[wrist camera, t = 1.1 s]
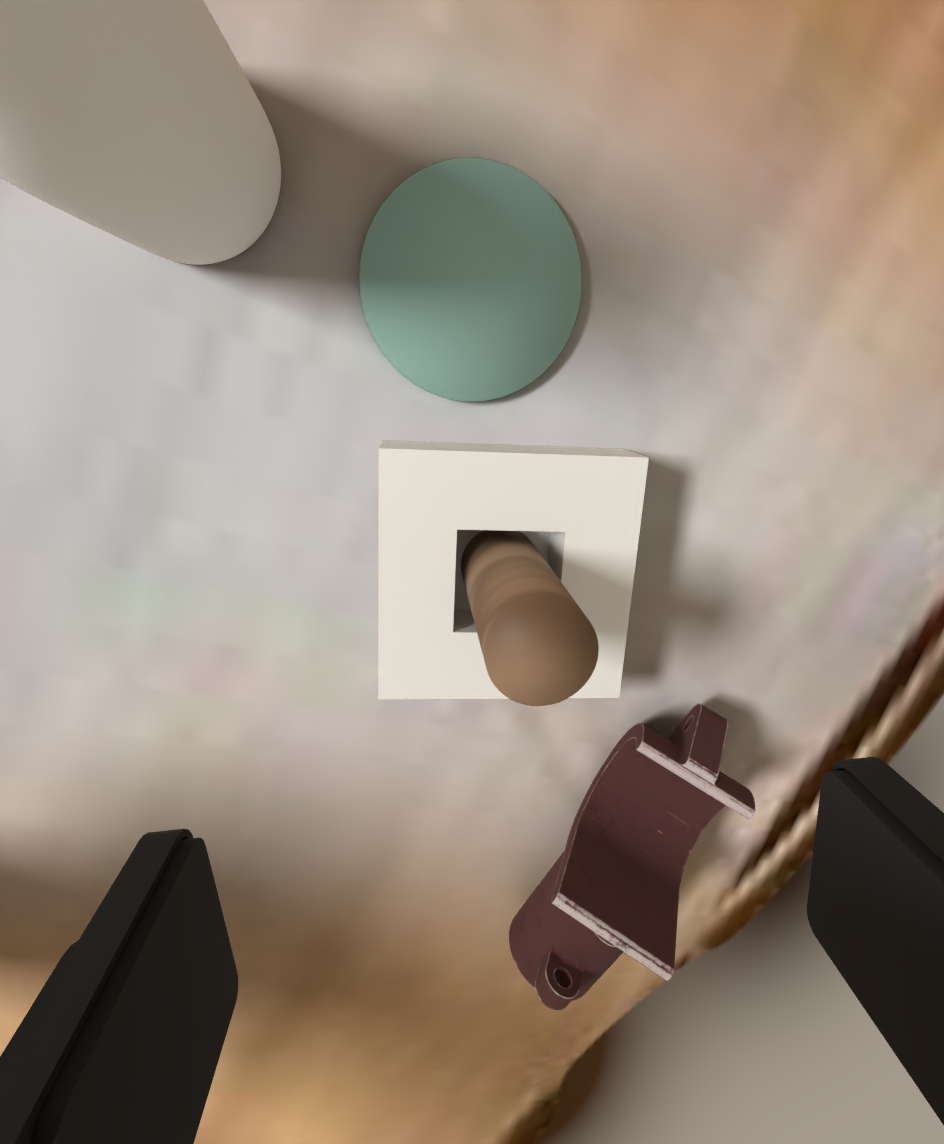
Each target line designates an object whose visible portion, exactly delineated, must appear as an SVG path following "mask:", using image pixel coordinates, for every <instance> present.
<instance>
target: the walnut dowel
mask: <svg viewBox="0 0 944 1144" xmlns="http://www.w3.org/2000/svg"><path fill="white" fill-rule="evenodd" d="M461 572H462V577H463V581H464V584H465V588H466V592H467V596H468V600H469V604H470V607H471V611H472V615H473V619H474V623H475V627H476V631H477V634H478V638H479V642H480V646H481V650H482V654H483V657H484V661H485V665H486V669H487V672H488V675H489V677H490V679H491V681H492V683H493V684H494V685H495V687H496V688H497V689H498V690H499V691H500V692H501V693H502V694H503V695H505V696H506V697H508V698H509V699H511V700H513V701H515V702H518V703H521V704H525V705H530V706H545V705H551V704H555V703H558V702H561V701H563V700H565V699H567V698H569V697H571V696H572V695H574V694H575V693H576V692H578V691H579V690H580V689H581V688H582V687H583V686H584V685H585V684H586V682H587V681H588V680H589V678H590V677H591V675H592V673H593V671H594V669H595V667H596V663H597V660H598V652H599V646H598V639H597V635H596V632H595V630H594V627H593V626H592V624H591V622H590V621H589V620H588V618H587V617H586V615H585V614H584V613H583V611H582V610H581V609H580V607H579V606H578V604H577V603H576V602H575V600H574V599H573V598H572V596H571V595H570V594H569V592H568V591H567V589H566V588H565V587H564V585H563V584H562V583H561V581H560V580H559V578H558V577H557V576H556V574H555V573H554V572H553V570H552V569H551V567H550V566H549V565H548V563H547V562H546V561H545V559H544V558H543V557H542V555H541V554H540V552H539V551H538V550H537V548H536V547H535V546H534V544H533V543H532V542H531V540H530V539H529V538H528V537H527V536H526V535H525V534H523V533H522V532H520V531H501V530H484V531H482V532H480V533H479V534H477V535H476V536H475V537H473V538H472V539H471V540H470V542H469V543H468V544H467V546H466V548H465V550H464V552H463V555H462V559H461Z"/></svg>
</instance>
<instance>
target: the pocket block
mask: <svg viewBox="0 0 944 1144" xmlns="http://www.w3.org/2000/svg"><path fill="white" fill-rule="evenodd" d="M648 460H649V457H646V456H643V455H640V454H637V453H634V452H631V451H628V450H626V449H611V448H583V447H555V446H527V445H498V444H470V443H442V442H414V441H386V440H382V442H381V444H380V447H379V635H378V699H499V698H508V697H506V696H505V695H503V694H502V693H501V692H500V691H499V690H498V689H497V688H496V687H495V685H494V684H493V683H492V681H491V679H490V677H489V675H488V672H487V669H486V665H485V661H484V657H483V654H482V650H481V646H480V642H479V638H478V634H477V631H476V627H475V623H474V619H473V615H472V611H471V607H470V604H469V600H468V596H467V592H466V588H465V584H464V581H463V577H462V572H461V559H462V555H463V552H464V550H465V548H466V546H467V544H468V543H469V542H470V540H471V539H472V538H473V537H475V536H476V535H477V534H479V533H480V532H482V531H484V530H501V531H520V532H522V533H523V534H525V535H526V536H527V537H528V538H529V539H530V540H531V542H532V543H533V544H534V546H535V547H536V548H537V550H538V551H539V552H540V554H541V555H542V557H543V558H544V559H545V561H546V562H547V563H548V565H549V566H550V567H551V569H552V570H553V572H554V573H555V574H556V576H557V577H558V578H559V580H560V581H561V583H562V584H563V585H564V587H565V588H566V589H567V591H568V592H569V594H570V595H571V596H572V598H573V599H574V600H575V602H576V603H577V604H578V606H579V607H580V609H581V610H582V611H583V613H584V614H585V615H586V617H587V618H588V620H589V621H590V622H591V624H592V626H593V627H594V630H595V632H596V635H597V639H598V646H599V652H598V660H597V663H596V667H595V669H594V671H593V673H592V675H591V677H590V678H589V680H588V681H587V682H586V684H585V685H584V686H583V687H582V688H581V689H580V690H579V691H578V692H576V693H575V694H574V695H572V696H571V697H569V698H619V695H620V687H621V679H622V670H623V662H624V654H625V646H626V638H627V630H628V622H629V614H630V606H631V598H632V590H633V582H634V573H635V565H636V557H637V549H638V541H639V533H640V525H641V517H642V509H643V501H644V493H645V485H646V476H647V468H648Z"/></svg>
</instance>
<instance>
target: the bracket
mask: <svg viewBox="0 0 944 1144" xmlns="http://www.w3.org/2000/svg"><path fill="white" fill-rule="evenodd" d="M727 729H728V721H727V720H726V719H725V718H723V717H721V716H720V715H718V714H716V713H715V712H713V711H711V710H709V709H708V708H706V707H704V706H703V705H701V704H697V705H695V706H694V707H693V708H692V709H691V710H690V712H689V713H688V714H687V715H686V717H685V718H684V719H683V721H682V722H681V723H680V725H679V726H678V727H677V728H676V730H675V731H674V732H673V734H672V735H671V736H670V737H669V739H666V738H664V737H663V736H661V735H659V734H658V733H656V732H655V731H653V730H651V729H650V728H648V727H646V726H645V725H643V724H641V723H638V724H636V725H634V726H633V727H632V728H631V729H630V730H629V731H628V732H627V733H626V734H625V735H624V736H623V737H622V738H621V740H620V741H619V742H618V743H617V745H616V746H615V747H614V749H613V751H612V752H611V754H610V755H609V757H608V758H607V760H606V761H605V763H604V764H603V766H602V767H601V769H600V770H599V772H598V773H597V775H596V777H595V779H594V780H593V782H592V784H591V786H590V788H589V790H588V792H587V794H586V795H585V797H584V799H583V802H582V804H581V806H580V808H579V810H578V812H577V815H576V817H575V820H574V822H573V825H572V827H571V830H570V833H569V837H568V840H567V844H566V848H565V851H564V852H563V853H562V855H561V856H560V857H559V859H558V860H557V861H556V863H555V864H554V865H553V867H552V868H551V869H550V871H549V872H548V873H547V875H546V876H545V877H544V879H543V880H542V881H541V883H540V884H539V885H538V886H537V888H536V889H535V890H534V892H533V893H532V894H531V896H530V897H529V898H528V900H527V901H526V902H525V904H524V905H523V906H522V908H521V909H520V910H519V912H518V913H517V914H516V916H515V917H514V919H513V920H512V923H511V926H510V931H509V943H510V948H511V952H512V956H513V958H514V961H515V963H516V965H517V967H518V969H519V970H520V972H521V973H522V975H523V976H524V978H525V979H526V980H527V981H528V982H529V983H530V984H531V985H532V986H533V987H534V988H535V989H536V991H537V994H538V996H539V998H540V1000H541V1001H542V1002H543V1003H544V1004H545V1005H546V1006H547V1007H548V1008H550V1009H552V1010H555V1011H560V1010H563V1009H564V1008H565V1007H566V1006H567V1005H568V1004H569V1003H570V1002H571V1001H573V1000H576V999H578V998H580V997H582V996H583V995H584V994H585V993H586V992H587V991H588V990H589V989H590V987H591V986H592V985H593V984H594V983H595V982H596V981H597V980H598V979H599V978H600V977H601V976H602V974H603V973H604V972H605V971H606V970H607V969H608V968H609V967H610V966H611V965H612V964H613V963H614V961H615V960H616V959H617V958H618V957H619V956H620V955H621V954H622V953H623V952H625V953H626V954H628V955H629V956H631V957H632V958H634V959H635V960H637V961H638V962H640V963H641V964H643V965H644V966H645V967H647V968H648V969H650V970H651V971H653V972H654V973H656V974H657V975H659V976H660V977H662V978H663V979H665V980H666V981H668V980H670V978H671V977H672V975H673V972H674V963H675V947H676V931H677V915H678V899H679V887H680V881H681V877H682V873H683V870H684V867H685V864H686V861H687V859H688V856H689V854H690V852H691V850H692V848H693V846H694V844H695V842H696V840H697V838H698V837H699V835H700V833H701V832H702V830H703V829H704V827H705V826H706V825H707V823H708V822H709V821H710V820H711V818H712V817H713V816H714V815H715V814H716V813H717V812H718V811H719V810H721V809H722V808H723V807H725V806H728V807H729V808H731V809H733V810H734V811H736V812H737V813H739V814H741V815H742V816H744V817H745V818H747V819H749V820H750V819H751V818H752V817H753V816H754V814H755V801H754V797H753V795H752V793H751V791H750V790H749V789H748V788H746V787H744V786H743V785H741V784H740V783H738V782H736V781H735V780H733V779H731V778H730V777H728V776H726V775H725V774H723V773H722V772H720V771H719V769H720V764H721V759H722V754H723V749H724V744H725V739H726V734H727Z"/></svg>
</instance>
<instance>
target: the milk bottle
mask: <svg viewBox="0 0 944 1144" xmlns="http://www.w3.org/2000/svg"><path fill="white" fill-rule="evenodd" d="M0 178H2V179H3V180H5V181H7V182H9V183H11V184H12V185H14V186H16V187H18V188H20V189H21V190H23V191H25V192H27V193H29V194H31V195H32V196H34V197H36V198H38V199H40V200H42V201H44V202H46V203H48V204H50V205H52V206H54V207H56V208H58V209H60V210H62V211H64V212H66V213H68V214H70V215H72V216H75V217H77V218H79V219H81V220H83V221H85V222H87V223H89V224H91V225H93V226H95V227H97V228H99V229H101V230H103V231H106V232H108V233H110V234H112V235H114V236H116V237H118V238H120V239H122V240H125V241H127V242H129V243H131V244H133V245H135V246H137V247H140V248H142V249H144V250H146V251H148V252H150V253H153V254H155V255H158V256H160V257H163V258H166V259H169V260H172V261H175V262H180V263H185V264H194V265H204V264H213V263H217V262H222V261H224V260H227V259H230V258H232V257H234V256H236V255H238V254H240V253H241V252H243V251H245V250H246V249H247V248H249V247H250V246H251V245H252V244H253V243H254V242H255V241H256V240H257V239H258V238H259V237H260V236H261V234H262V233H263V232H264V230H265V229H266V227H267V226H268V224H269V222H270V220H271V218H272V216H273V214H274V211H275V209H276V206H277V202H278V199H279V193H280V186H281V162H280V155H279V149H278V145H277V141H276V138H275V135H274V132H273V129H272V127H271V124H270V122H269V120H268V118H267V116H266V113H265V111H264V109H263V107H262V105H261V103H260V101H259V100H258V98H257V96H256V94H255V92H254V90H253V89H252V87H251V85H250V83H249V81H248V80H247V78H246V76H245V74H244V72H243V70H242V69H241V67H240V65H239V63H238V61H237V60H236V58H235V56H234V54H233V52H232V51H231V49H230V47H229V45H228V43H227V42H226V40H225V38H224V36H223V34H222V33H221V31H220V29H219V27H218V26H217V24H216V22H215V20H214V19H213V17H212V15H211V13H210V12H209V10H208V8H207V6H206V5H205V3H204V1H203V0H0Z"/></svg>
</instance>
